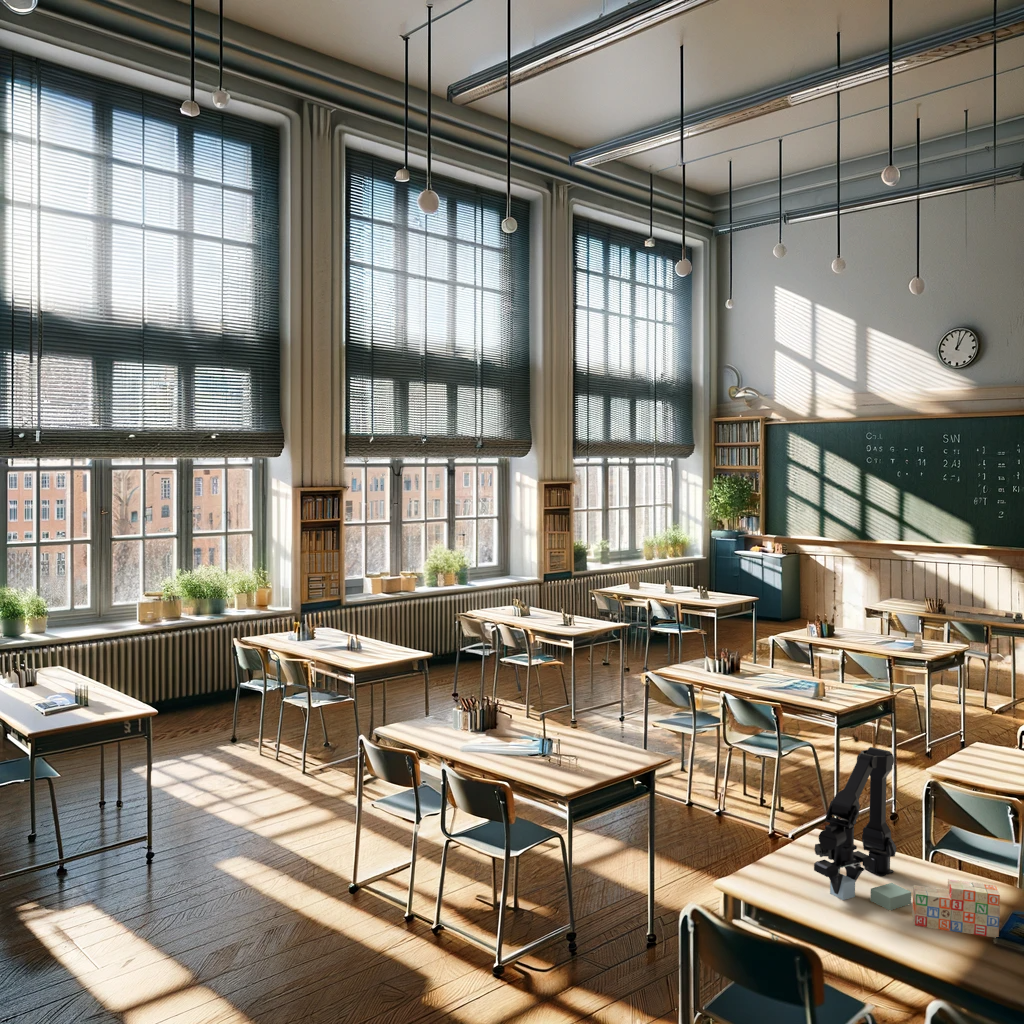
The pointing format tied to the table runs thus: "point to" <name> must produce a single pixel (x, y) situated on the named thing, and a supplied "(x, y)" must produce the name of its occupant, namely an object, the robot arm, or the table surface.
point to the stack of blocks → (958, 908)
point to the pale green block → (890, 896)
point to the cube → (845, 888)
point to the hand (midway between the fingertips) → (842, 891)
